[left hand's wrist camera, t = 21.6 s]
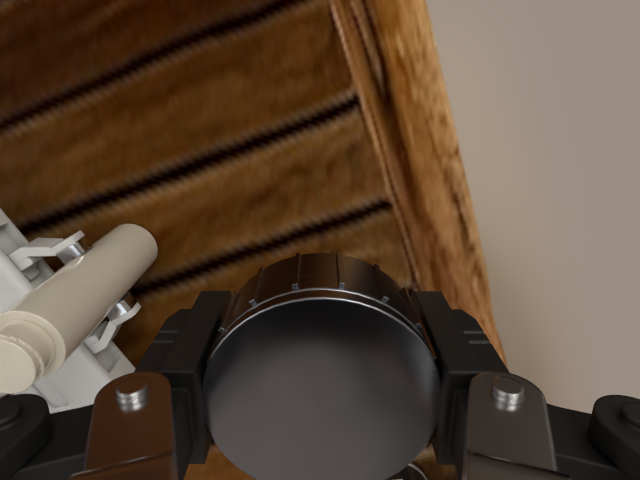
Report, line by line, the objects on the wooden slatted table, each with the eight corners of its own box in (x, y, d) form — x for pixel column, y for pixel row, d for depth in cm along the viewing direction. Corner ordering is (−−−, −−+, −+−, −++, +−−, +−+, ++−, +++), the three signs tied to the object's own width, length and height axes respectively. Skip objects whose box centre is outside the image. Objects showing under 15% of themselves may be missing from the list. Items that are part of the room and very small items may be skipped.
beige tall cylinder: (168, 253, 40) (62, 377, 24) (131, 279, 41) (5, 415, 25) (133, 213, 39) (-3, 315, 23) (95, 241, 39) (-61, 358, 23)
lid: (229, 233, 10) (206, 274, 8) (445, 265, 10) (477, 314, 8) (211, 409, 12) (189, 482, 10) (398, 433, 12) (414, 509, 10)
